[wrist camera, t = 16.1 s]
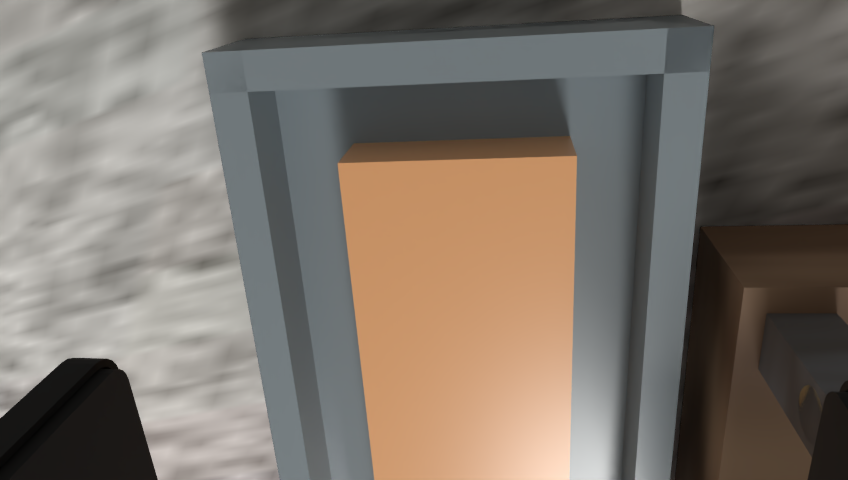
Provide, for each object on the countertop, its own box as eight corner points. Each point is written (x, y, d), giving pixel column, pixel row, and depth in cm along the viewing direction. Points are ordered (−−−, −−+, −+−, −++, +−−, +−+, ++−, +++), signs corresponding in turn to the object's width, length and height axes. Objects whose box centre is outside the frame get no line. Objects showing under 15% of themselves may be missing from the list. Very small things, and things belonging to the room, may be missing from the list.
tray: (245, 38, 19) (201, 52, 17) (682, 15, 18) (714, 25, 15) (332, 594, 28) (313, 664, 25) (634, 611, 26) (649, 688, 23)
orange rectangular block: (354, 143, 19) (337, 163, 17) (569, 135, 18) (576, 155, 16) (398, 562, 25) (389, 609, 23) (561, 570, 24) (565, 619, 23)
